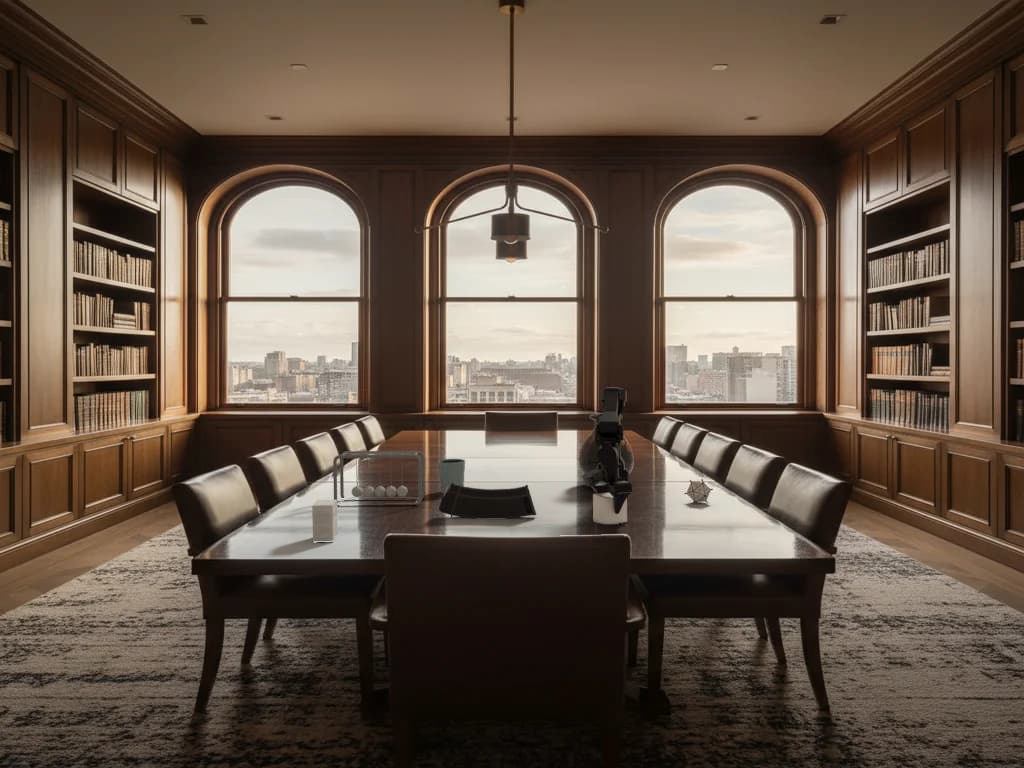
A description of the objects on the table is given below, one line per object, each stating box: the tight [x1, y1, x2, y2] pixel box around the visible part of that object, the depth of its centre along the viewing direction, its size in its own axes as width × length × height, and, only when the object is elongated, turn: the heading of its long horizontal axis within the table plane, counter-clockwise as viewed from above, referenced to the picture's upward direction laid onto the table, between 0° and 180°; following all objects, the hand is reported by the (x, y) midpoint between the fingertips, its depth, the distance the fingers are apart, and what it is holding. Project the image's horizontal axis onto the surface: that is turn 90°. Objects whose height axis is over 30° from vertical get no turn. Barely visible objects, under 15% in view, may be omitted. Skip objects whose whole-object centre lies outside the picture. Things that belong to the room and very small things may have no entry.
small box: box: [311, 499, 338, 542], centre depth 195 cm, size 8×6×10 cm
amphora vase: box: [578, 413, 635, 489], centre depth 273 cm, size 22×22×28 cm
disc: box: [592, 518, 625, 525], centre depth 216 cm, size 10×10×1 cm
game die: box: [683, 478, 714, 505], centre depth 241 cm, size 9×8×10 cm
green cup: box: [437, 458, 466, 493], centre depth 263 cm, size 10×10×12 cm
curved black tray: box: [438, 483, 537, 519], centre depth 221 cm, size 17×3×30 cm
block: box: [592, 493, 628, 525], centre depth 216 cm, size 8×8×8 cm
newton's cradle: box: [332, 450, 426, 506], centre depth 244 cm, size 30×10×18 cm, turn 90°
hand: (609, 510), depth 216 cm, fingers open, 9 cm apart
